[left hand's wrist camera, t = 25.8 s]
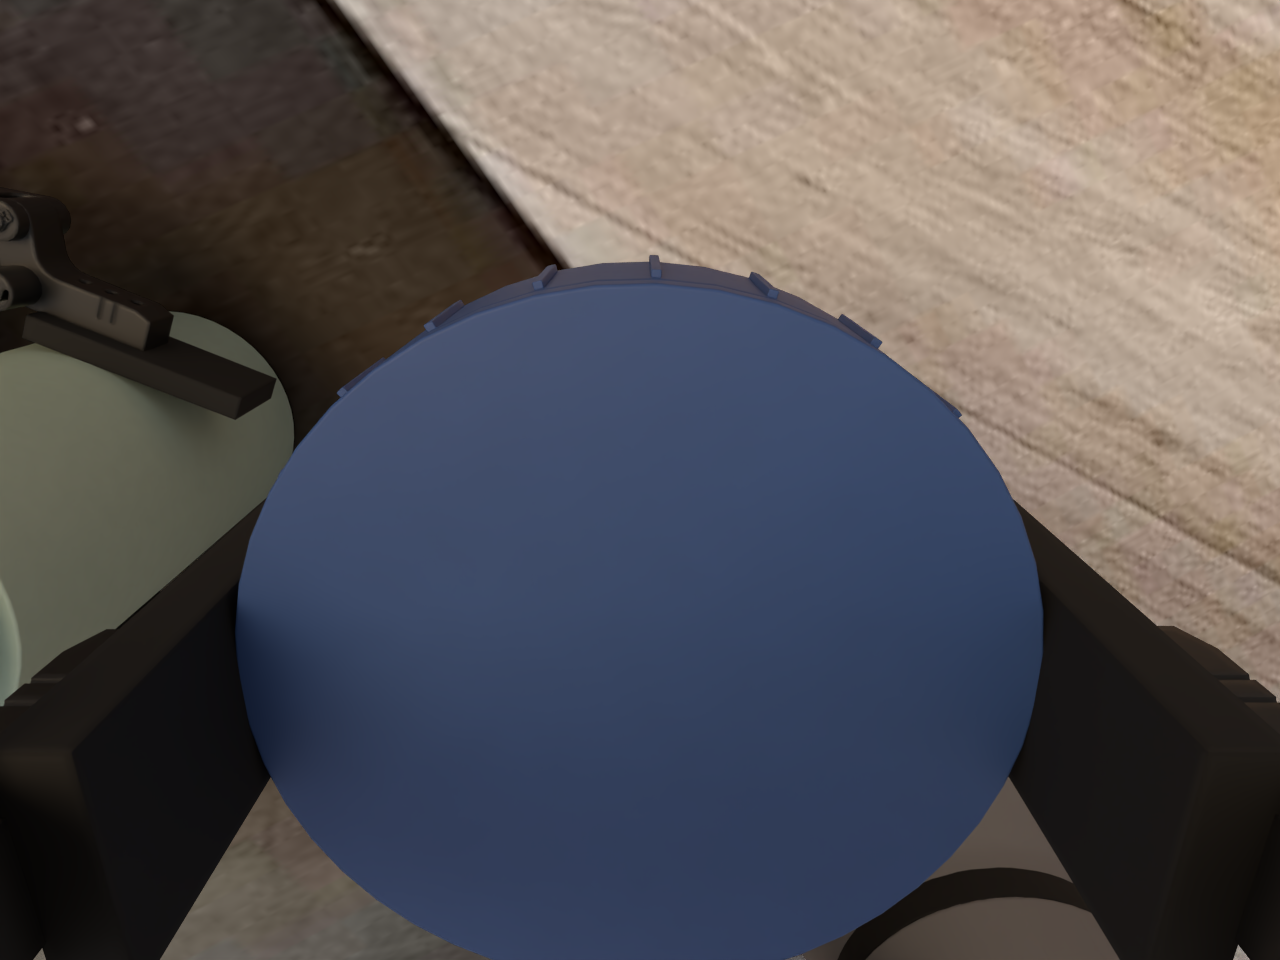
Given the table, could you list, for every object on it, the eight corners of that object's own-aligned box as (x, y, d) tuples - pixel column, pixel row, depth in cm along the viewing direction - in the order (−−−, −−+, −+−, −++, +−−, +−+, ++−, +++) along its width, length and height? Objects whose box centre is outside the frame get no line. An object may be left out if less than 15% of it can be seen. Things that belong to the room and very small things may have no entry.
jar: (84, 282, 33) (-539, 402, 15) (311, 349, 33) (-36, 534, 16) (67, 486, 35) (-474, 782, 18) (276, 543, 36) (-50, 876, 19)
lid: (222, 295, 10) (121, 326, 8) (994, 219, 10) (1084, 233, 8) (376, 885, 14) (330, 1010, 12) (964, 841, 13) (1023, 961, 11)
